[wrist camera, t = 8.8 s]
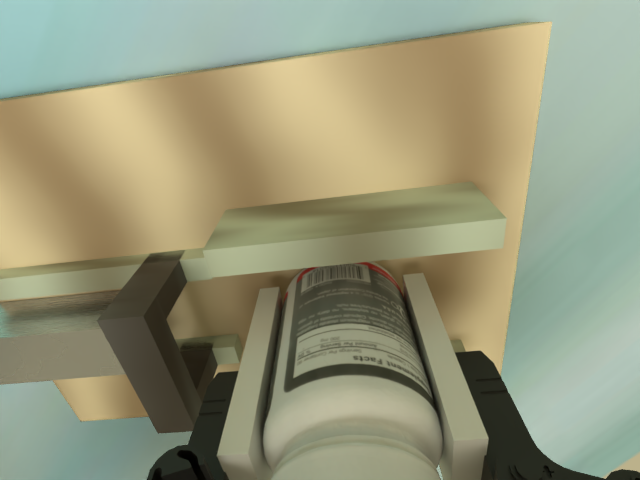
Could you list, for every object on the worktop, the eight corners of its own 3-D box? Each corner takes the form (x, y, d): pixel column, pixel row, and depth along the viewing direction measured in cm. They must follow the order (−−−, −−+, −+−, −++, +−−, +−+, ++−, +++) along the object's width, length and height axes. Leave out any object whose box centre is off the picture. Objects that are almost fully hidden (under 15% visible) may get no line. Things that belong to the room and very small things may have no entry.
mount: (96, 396, 22) (29, 502, 17) (-82, 111, 14) (-300, 153, 9) (486, 366, 20) (537, 474, 15) (526, 22, 12) (657, 17, 7)
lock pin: (25, 343, 18) (-16, 385, 15) (-3, 302, 16) (-51, 342, 14) (170, 330, 17) (147, 372, 15) (151, 287, 16) (124, 326, 14)
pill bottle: (357, 360, 17) (381, 618, 9) (263, 315, 15) (207, 569, 8) (427, 287, 15) (527, 543, 7) (325, 229, 13) (324, 465, 6)
